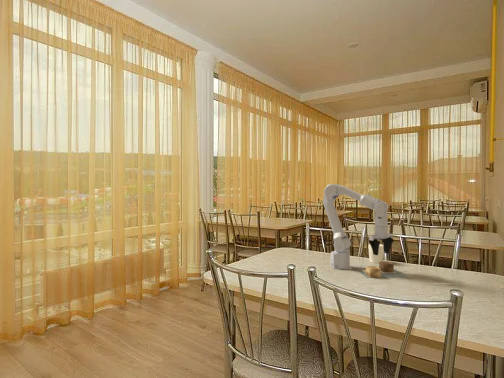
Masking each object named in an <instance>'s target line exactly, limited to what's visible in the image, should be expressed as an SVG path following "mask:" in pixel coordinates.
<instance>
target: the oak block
mask: <svg viewBox="0 0 504 378" xmlns="http://www.w3.org/2000/svg"><path fill="white" fill-rule="evenodd" d="M365 270H366V275H367V276H368V277H370V278H369V279H377V278H376V277H381V269H380V268H379V266H376V265H368V266H367V265H365Z"/></svg>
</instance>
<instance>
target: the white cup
mask: <svg viewBox="0 0 504 378" xmlns="http://www.w3.org/2000/svg"><path fill="white" fill-rule="evenodd" d="M368 258H369V259H368V260H369V262H370V263H372V264H379V262H384V261H383V260H384V246H383V244H381V243H380V245H379V251H378V255H374V254H373V250H372V247H371V245H370V243H368Z"/></svg>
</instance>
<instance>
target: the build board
mask: <svg viewBox="0 0 504 378" xmlns="http://www.w3.org/2000/svg"><path fill="white" fill-rule="evenodd" d="M356 271H357V272H358V273H360V274H361V275H363V276H364V277H365V278H366V279H371V278H370V277H368V276H367V275H366V269H356ZM401 278H403V279H404V278H406V279H407V278H411V277H410V276H409V275H406V274H405V273H403V272H402V271H399V270H398V269H396V268H394V272H382V271H381V277H376V278H375V279H401Z"/></svg>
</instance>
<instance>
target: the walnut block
mask: <svg viewBox="0 0 504 378" xmlns="http://www.w3.org/2000/svg"><path fill="white" fill-rule="evenodd" d="M378 267H379V268H380V269H381V271H382V272H394V269H395V268H394V267H395V265H394V263H392V262H391V261H383V262H379V263H378Z"/></svg>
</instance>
